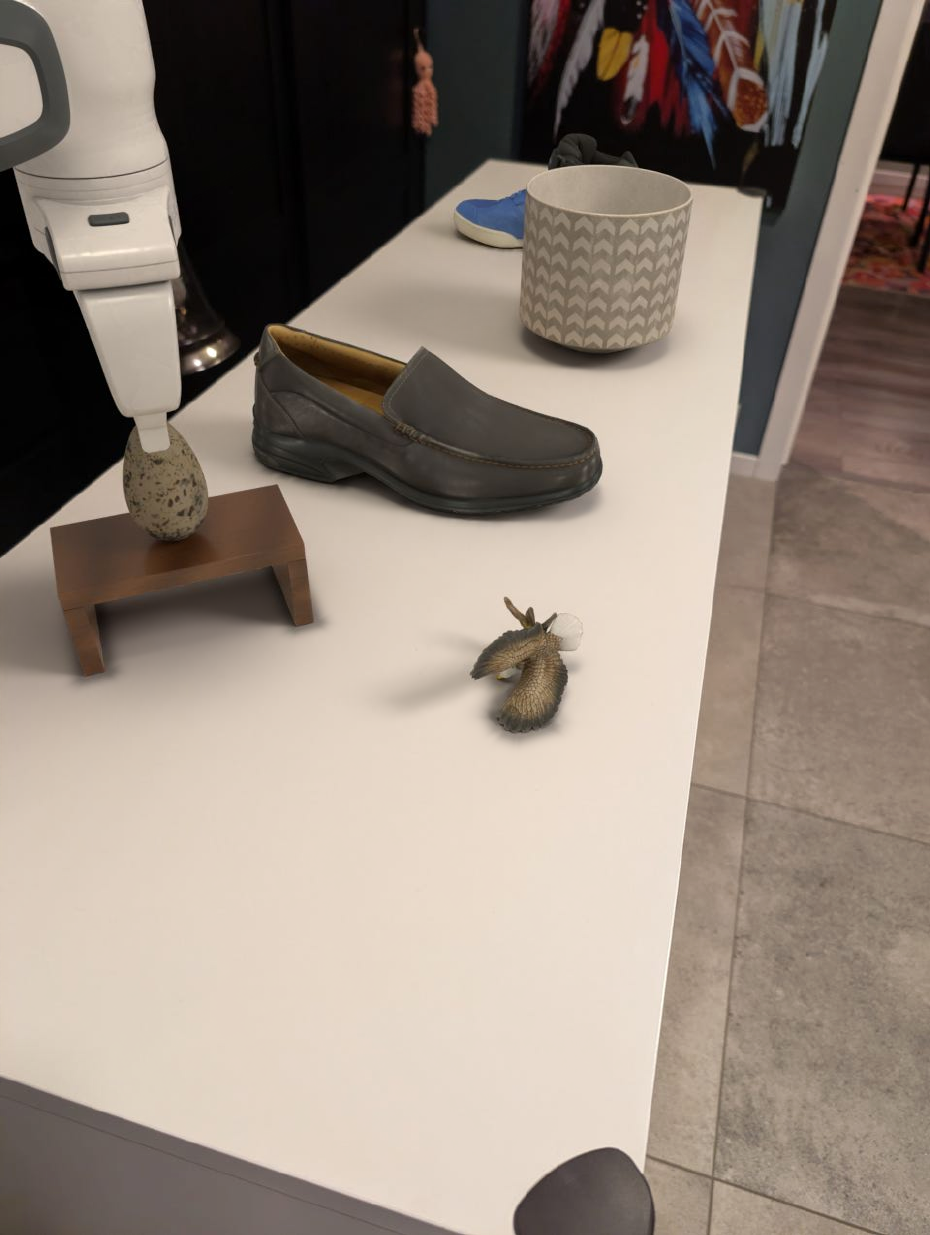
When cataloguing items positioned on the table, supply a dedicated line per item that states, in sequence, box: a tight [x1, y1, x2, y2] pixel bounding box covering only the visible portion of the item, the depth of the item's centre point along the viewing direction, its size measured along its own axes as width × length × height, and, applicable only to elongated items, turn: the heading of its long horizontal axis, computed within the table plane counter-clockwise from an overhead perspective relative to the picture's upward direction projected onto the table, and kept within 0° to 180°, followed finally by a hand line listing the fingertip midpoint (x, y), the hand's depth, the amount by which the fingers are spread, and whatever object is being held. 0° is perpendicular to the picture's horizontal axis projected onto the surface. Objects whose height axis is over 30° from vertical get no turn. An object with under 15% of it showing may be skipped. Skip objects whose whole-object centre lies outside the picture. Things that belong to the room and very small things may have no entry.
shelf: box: [49, 483, 314, 677], centre depth 77 cm, size 18×9×8 cm, turn 112°
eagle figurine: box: [469, 596, 584, 734], centre depth 71 cm, size 8×7×9 cm
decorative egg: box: [122, 421, 209, 541], centre depth 71 cm, size 6×6×10 cm
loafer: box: [251, 323, 604, 516], centre depth 92 cm, size 13×36×13 cm, turn 76°
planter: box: [519, 165, 694, 354], centre depth 115 cm, size 19×19×18 cm
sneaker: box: [452, 133, 639, 249], centre depth 142 cm, size 12×29×16 cm, turn 71°
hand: (146, 414), depth 67 cm, fingers open, 8 cm apart
